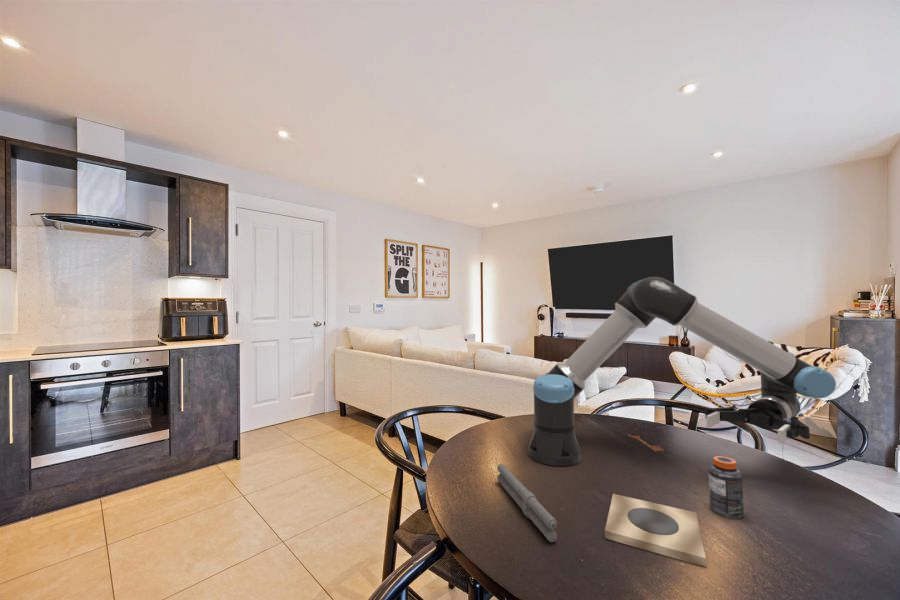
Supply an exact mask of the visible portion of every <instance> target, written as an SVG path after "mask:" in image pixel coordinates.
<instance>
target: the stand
mask: <svg viewBox="0 0 900 600" xmlns="http://www.w3.org/2000/svg"><path fill="white" fill-rule="evenodd" d="M610 500H611V502H610V506H609V511H608V513H607V518H606V519H607V520H606V524H605V527H604V539H606V540H609V541H612V542H616V543H620V544H624V545H627V546H631V547H635V548H637V549H641V550H644V551H648V552H651V553H654V554H659V555H662V556H666V557H668V558H673V559H676V560H680V561H683V562H686V563H690V564H692V565H697V566H700V567H704V568H706V567H707V562H706V561H707V559H706V553H705V549H704V544H703V540H702V534H701V530H700V529H701V528H700V524H699V520H698V515H697V512H694V511H691V510H687V509H682V508H677V507H673V506H668V505H665V504H660V503H655V502H652V501H648V500H643V499H638V498H634V497H629V496H624V495H621V494H616V493H612V497H611V499H610Z"/></svg>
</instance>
